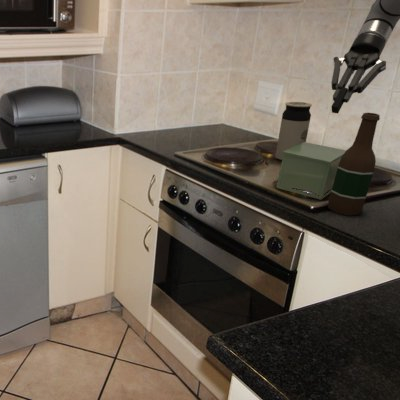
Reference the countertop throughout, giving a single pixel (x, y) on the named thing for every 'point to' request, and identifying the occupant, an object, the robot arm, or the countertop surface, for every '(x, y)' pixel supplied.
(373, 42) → the robot arm
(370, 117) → the beer bottle
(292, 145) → the travel mug
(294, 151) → the canister lid
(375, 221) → the countertop surface
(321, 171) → the green open box
